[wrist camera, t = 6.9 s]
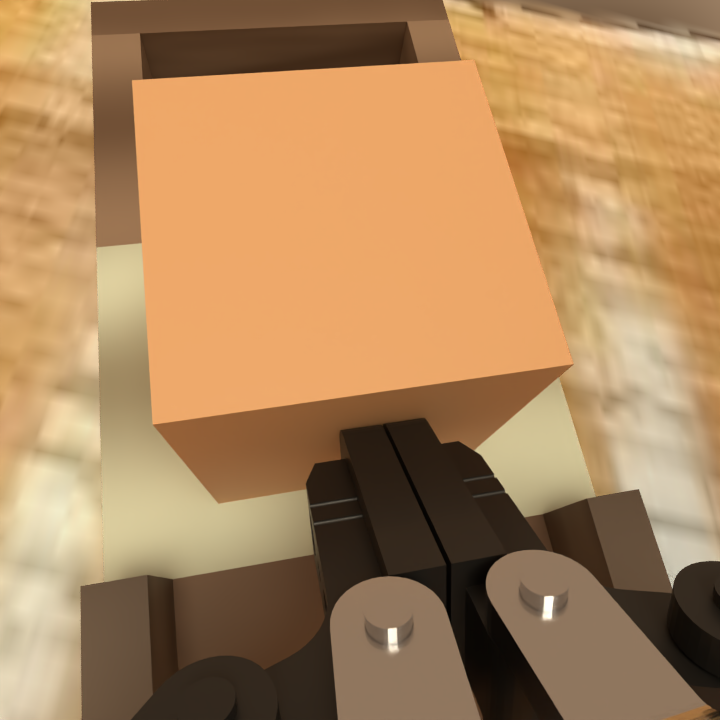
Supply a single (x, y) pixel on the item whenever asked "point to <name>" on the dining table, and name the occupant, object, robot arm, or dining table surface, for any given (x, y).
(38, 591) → the dining table surface
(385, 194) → the block
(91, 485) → the dining table surface
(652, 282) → the dining table surface
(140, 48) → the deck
